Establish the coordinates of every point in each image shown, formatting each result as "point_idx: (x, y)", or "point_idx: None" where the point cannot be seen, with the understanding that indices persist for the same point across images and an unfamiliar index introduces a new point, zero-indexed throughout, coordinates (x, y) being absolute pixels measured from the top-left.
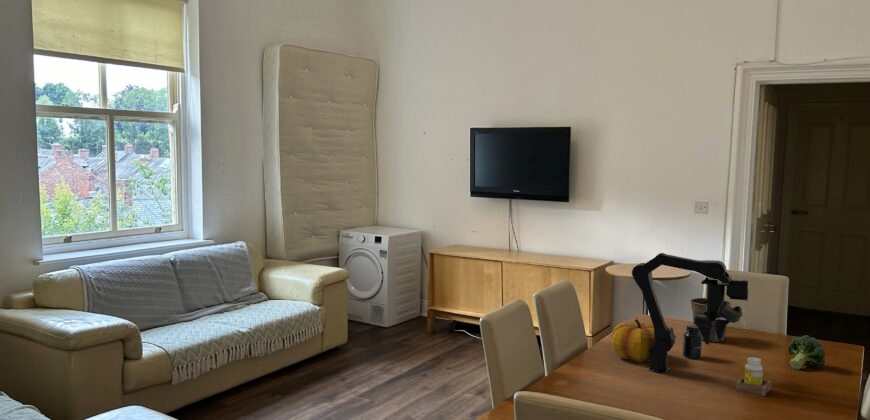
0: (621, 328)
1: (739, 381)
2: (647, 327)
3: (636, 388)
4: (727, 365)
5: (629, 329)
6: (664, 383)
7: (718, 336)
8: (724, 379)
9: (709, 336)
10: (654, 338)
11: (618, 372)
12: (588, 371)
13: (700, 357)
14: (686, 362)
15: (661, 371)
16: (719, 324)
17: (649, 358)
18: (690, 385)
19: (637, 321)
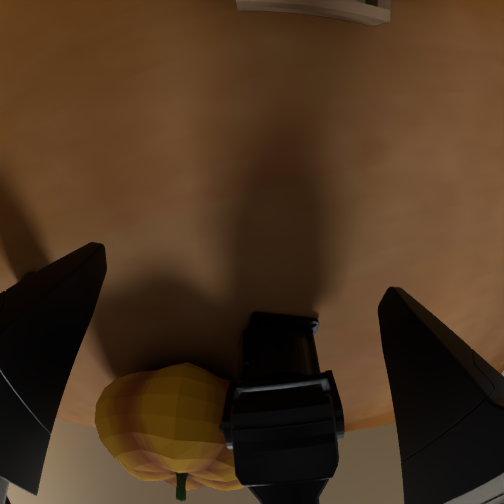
0: (241, 487)
1: (368, 7)
2: (161, 468)
3: (470, 315)
4: (21, 169)
5: (233, 482)
6: (415, 282)
7: (94, 287)
8: (224, 100)
9: (466, 344)
10: (218, 441)
11: (360, 382)
12: (378, 407)
13: (32, 272)
14: (110, 294)
15: (308, 326)
16: (19, 409)
17: (227, 381)
18: (405, 209)
19: (184, 494)
